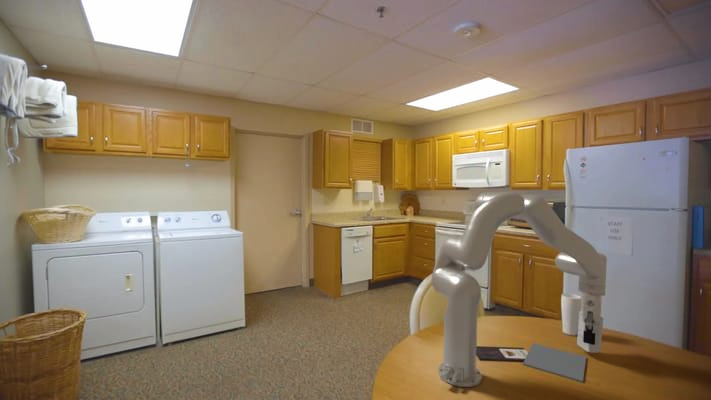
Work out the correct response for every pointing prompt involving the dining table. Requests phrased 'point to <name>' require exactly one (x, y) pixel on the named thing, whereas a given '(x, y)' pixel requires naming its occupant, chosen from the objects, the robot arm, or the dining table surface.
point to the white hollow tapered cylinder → (570, 313)
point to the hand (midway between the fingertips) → (589, 339)
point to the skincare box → (597, 335)
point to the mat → (556, 362)
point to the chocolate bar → (501, 354)
